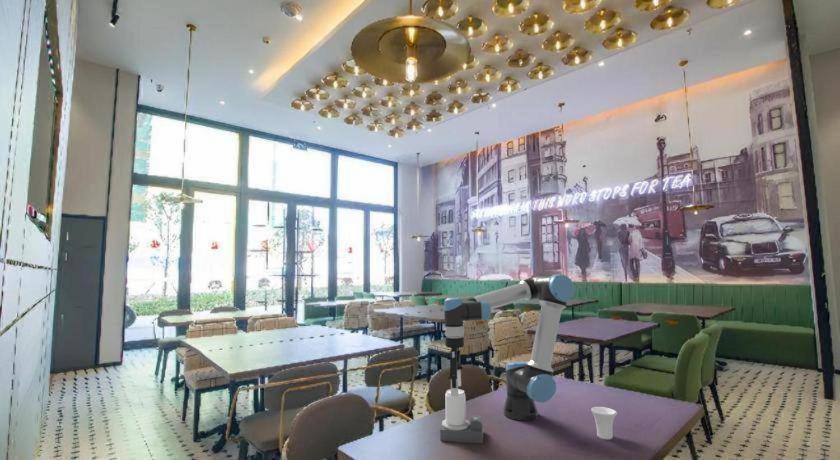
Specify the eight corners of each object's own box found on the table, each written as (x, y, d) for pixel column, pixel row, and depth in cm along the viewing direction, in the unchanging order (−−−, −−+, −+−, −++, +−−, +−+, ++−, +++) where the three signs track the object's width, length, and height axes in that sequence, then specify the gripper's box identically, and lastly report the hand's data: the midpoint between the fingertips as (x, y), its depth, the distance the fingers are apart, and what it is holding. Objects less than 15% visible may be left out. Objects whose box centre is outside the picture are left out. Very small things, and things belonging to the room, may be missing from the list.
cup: (617, 443, 147) (615, 415, 148) (590, 438, 152) (589, 411, 153) (619, 435, 154) (618, 408, 155) (594, 430, 159) (592, 404, 160)
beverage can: (465, 427, 150) (464, 394, 152) (444, 426, 152) (443, 393, 153) (466, 419, 158) (466, 388, 160) (447, 418, 160) (446, 387, 161)
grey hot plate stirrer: (483, 431, 158) (482, 411, 159) (482, 443, 147) (482, 421, 148) (443, 429, 161) (443, 409, 162) (440, 440, 150) (440, 419, 151)
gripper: (448, 331, 172) (450, 381, 169) (441, 342, 147) (443, 400, 145) (465, 331, 170) (467, 382, 168) (461, 342, 146) (463, 401, 144)
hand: (456, 391), depth 157 cm, fingers open, 13 cm apart
